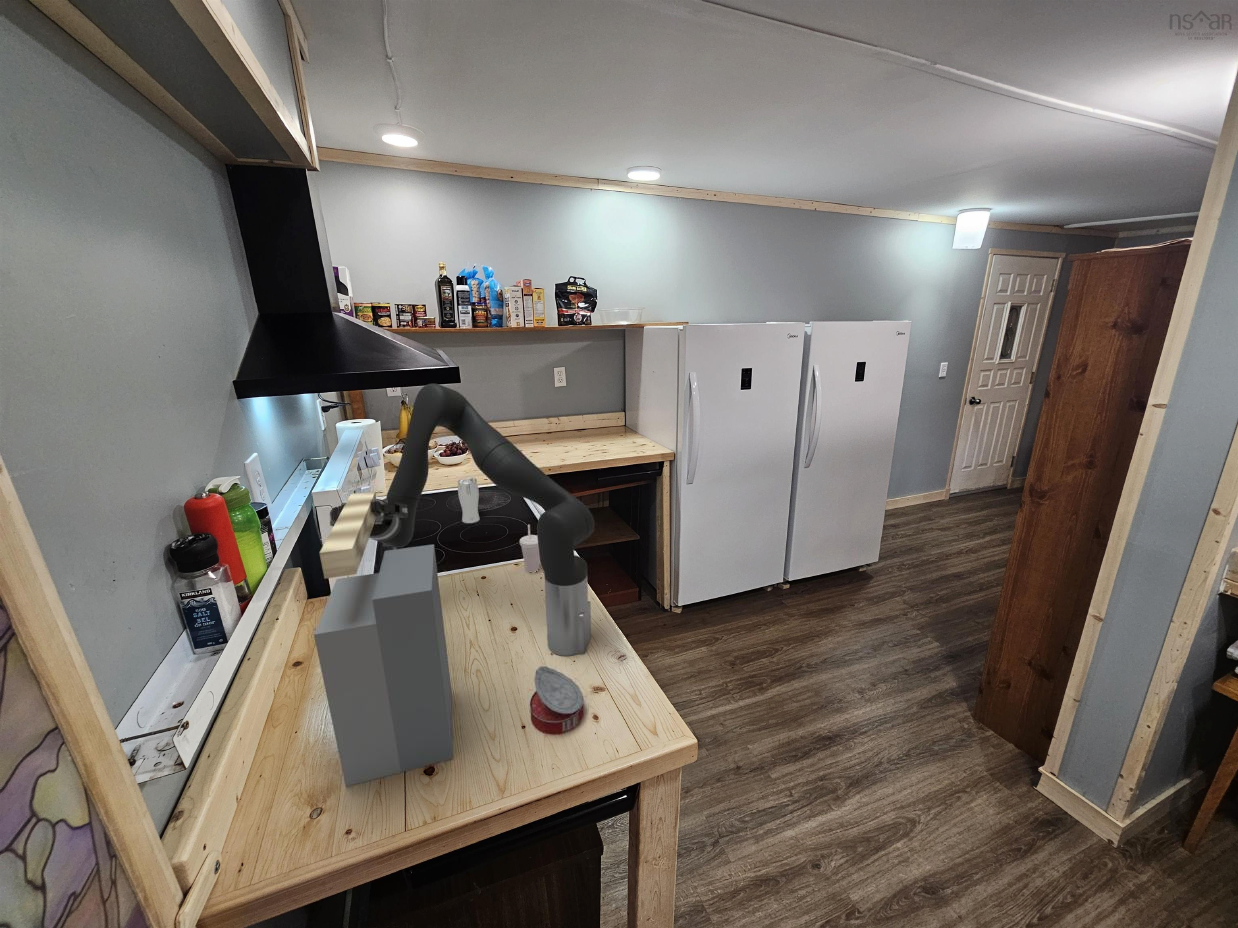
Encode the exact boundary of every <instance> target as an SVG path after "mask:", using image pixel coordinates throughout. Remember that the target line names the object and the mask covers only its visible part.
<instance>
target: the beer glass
mask: <svg viewBox="0 0 1238 928" xmlns="http://www.w3.org/2000/svg"><path fill="white" fill-rule="evenodd" d="M457 494H458V499H459V502H460V503H459V504H460V507H461V510H462V517H461V518H462V519H461V521H462V522H463V523H464V524H473V523H477V522H479V521H480V515H479V508H478V507H479V497H480V496H479V494H480V492H479V484H478V479H477V478H476V477H475V478H474V477H465V478H460V479H459V480H457Z"/></svg>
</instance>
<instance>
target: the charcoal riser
mask: <svg viewBox="0 0 1238 928" xmlns="http://www.w3.org/2000/svg"><path fill="white" fill-rule="evenodd" d="M435 549H436V548H435V544H427V545H419V546H410V547H405V548H404V547H402V548H397V549H396V548H395V549H391V550H384V553H383V557H382V560H381V564H380V567H379V568H380V569H379V572H377V573H369V574H364V575H363V574H362V575H356V576H349V577H348V576H347V577H344V578H343V577H342V578H336V579H335V582H334V585H333V587H332V589H331V592H330V595H329V596H328V599H327V602H326V605H325V607H324V608H323V612H322V613H321V615H320V616H321V617H320V619H319V621H318V623H317V626H316V627H315V628H316V629H315V631H314V633H313V637H314V642H315V647H316V651H317V655H318V661H319V665H320V671H321V674H322V679H323V684H324V689H325V693H326V694H325V695H326V698H327V705H328V709H329V713H330V718H331V724H332V726H333V727H332V728H333V731H334V737H335V741H336V747H337V750H338V751H337V752H338V756H339V761H340V767H341V770H342V776H343V780H344V784H345V787H346V788H347V787H350V786H355V785H359V784H361V783H366V782H370V781H374V780H377V779H380V778H381V779H382V778H385V777H388V776H392V775H393V776H394V775H396V774H399V773H403V772H407V771H411V770H416V769H420V768H423V767H427V766H431V765H434V764H437V763H441V762H445V761H450V760H453V759H454V757H453V756H454V755H453V752H454V751H453V700H452V699H453V693H452V684H451V683H452V682H451V675H450V667H449V657H448V651H447V650H448V649H447V642H446V640H447V639H446V634H445V632H446V631H445V625H444V618H443V617H444V614H443V609H442V599H441V592H440V591H441V590H440V583H439V576H438V567H437V565H438V564H437V558H436V551H435Z"/></svg>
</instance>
